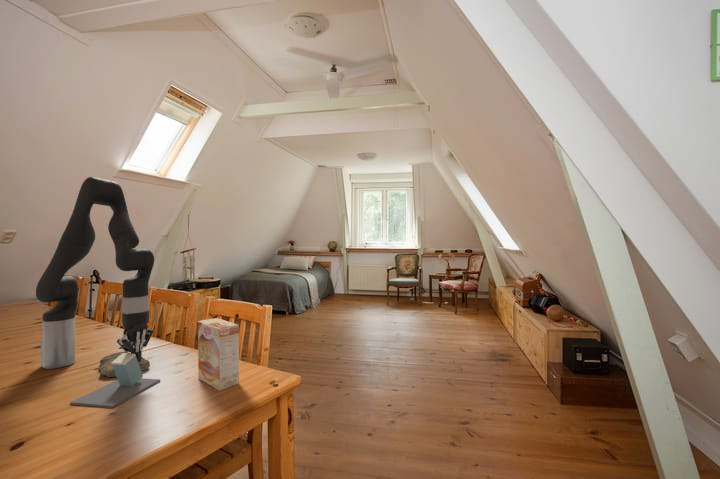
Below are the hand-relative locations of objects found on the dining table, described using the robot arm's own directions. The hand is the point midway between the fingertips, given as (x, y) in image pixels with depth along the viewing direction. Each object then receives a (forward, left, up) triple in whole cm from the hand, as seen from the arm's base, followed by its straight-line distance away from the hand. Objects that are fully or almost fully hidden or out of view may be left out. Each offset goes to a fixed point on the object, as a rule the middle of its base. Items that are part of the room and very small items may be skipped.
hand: (136, 362), depth 112 cm
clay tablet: (-16, +11, -7) cm, 21 cm away
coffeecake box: (+26, +5, -7) cm, 27 cm away
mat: (0, -7, -7) cm, 9 cm away
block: (0, -2, -5) cm, 6 cm away
